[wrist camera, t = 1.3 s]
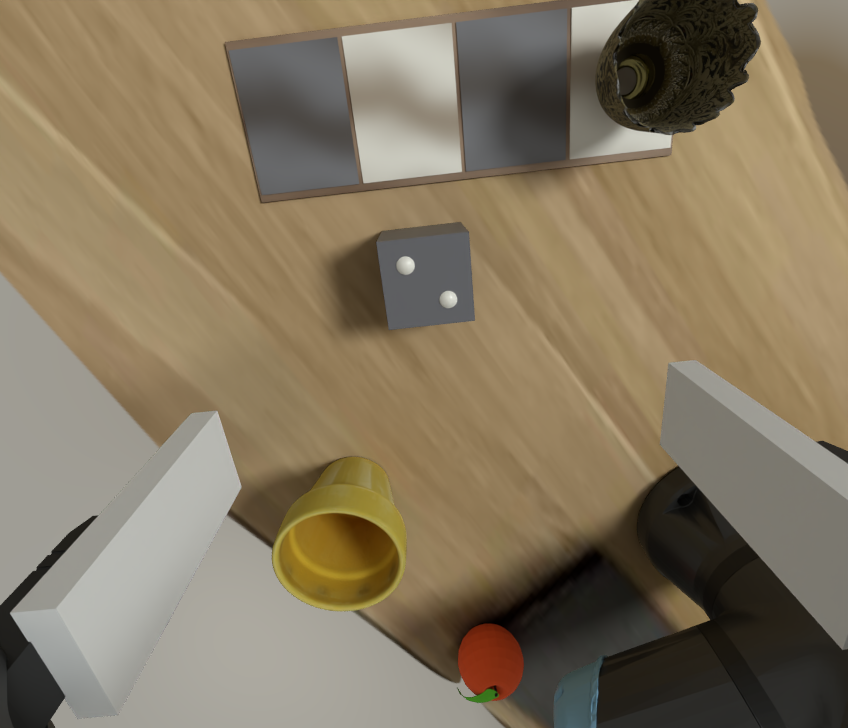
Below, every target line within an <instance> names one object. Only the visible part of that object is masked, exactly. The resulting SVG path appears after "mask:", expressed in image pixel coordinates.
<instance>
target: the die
mask: <svg viewBox="0 0 848 728" xmlns="http://www.w3.org/2000/svg"><path fill="white" fill-rule="evenodd" d="M376 244H377V251H378V258H379V265H380V272H381V279H382V286H383V292H384V299H385V306H386V313H387V320H388V327H389V330H393V329H402V328H411V327H421V326H430V325H439V324H448V323H457V322H467V321H475V315H474V300H473V286H472V271H471V257H470V242H469V231H468V230H467V229H466V228H465V227H464V226H463V224H462V223H461V222H456V223H447V224H439V225H430V226H421V227H412V228H404V229H395V230H386V231H382V232H381V234H380V236H379V238H378V240H377V242H376Z"/></svg>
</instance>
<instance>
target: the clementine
mask: <svg viewBox="0 0 848 728" xmlns="http://www.w3.org/2000/svg"><path fill="white" fill-rule="evenodd" d="M458 666H459V670H460V674H461V676H462V679H463V680H464V682H465V684H466V686H467V687H468V688H469V689H470V690H471V691H472V692H473V693H474V694H475V695H477V696H474V697H465V698H466V699H467V700H469V701H472V702H477V703H482V702H488V701H497V700H501V699H504V698H506V697H507V696H509V695H510V694H512V693H513V692H514V691H515V690H516V688H517V686H518V685H519V683H520V681H521V679H522V674H523V668H524V662H523V655H522V652H521V649H520V646H519V643H518V642H517V641H516V639H515V638H514V636H513V635H512V634H511V633H510V632H509V631H507V630H506V629H505V628H503V627H502V626H499V625H497V624H481V625H478V626H476V627H474V628H472V629H471V630H470V631H469V632H468V633H467V634H466V636H465V637H464V638H463V640H462V642H461V645H460V648H459V654H458ZM458 691H459V689H458ZM459 693H460V694H461V692H460V691H459ZM462 696H463V695H462ZM463 697H464V696H463Z"/></svg>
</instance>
